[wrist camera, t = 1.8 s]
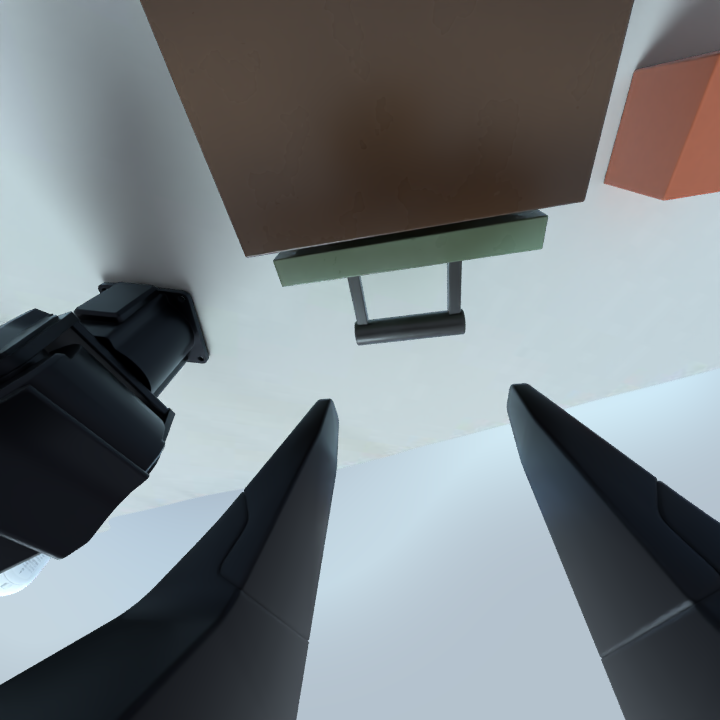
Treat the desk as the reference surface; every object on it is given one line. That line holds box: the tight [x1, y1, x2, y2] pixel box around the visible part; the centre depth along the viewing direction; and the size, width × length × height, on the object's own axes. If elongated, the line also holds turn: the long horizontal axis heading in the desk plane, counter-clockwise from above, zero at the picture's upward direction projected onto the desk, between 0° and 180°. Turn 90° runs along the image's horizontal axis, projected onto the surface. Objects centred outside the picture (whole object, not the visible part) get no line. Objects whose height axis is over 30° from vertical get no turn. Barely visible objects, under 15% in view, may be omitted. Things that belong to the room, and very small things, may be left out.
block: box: [604, 50, 720, 200], centre depth 13 cm, size 4×4×4 cm
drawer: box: [273, 209, 548, 345], centre depth 12 cm, size 19×10×7 cm, turn 10°
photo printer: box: [0, 554, 51, 596], centre depth 37 cm, size 10×4×12 cm, turn 163°
